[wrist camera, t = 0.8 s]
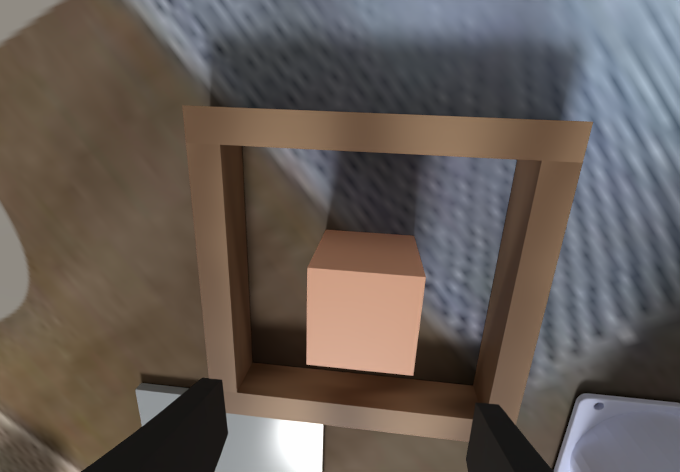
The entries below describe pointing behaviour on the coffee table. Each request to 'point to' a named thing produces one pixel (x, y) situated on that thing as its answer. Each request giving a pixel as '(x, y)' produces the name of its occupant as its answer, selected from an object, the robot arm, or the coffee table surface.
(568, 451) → the robot arm
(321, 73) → the coffee table surface
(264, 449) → the tile
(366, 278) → the terracotta block
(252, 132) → the well frame
